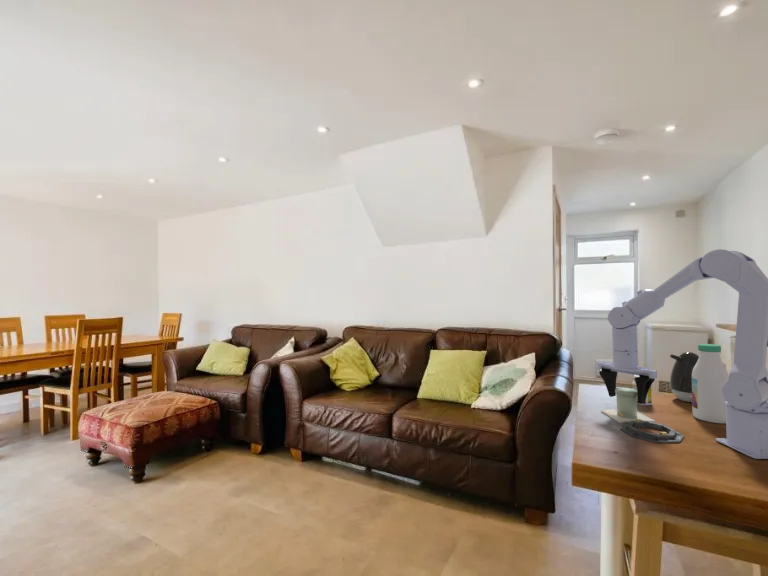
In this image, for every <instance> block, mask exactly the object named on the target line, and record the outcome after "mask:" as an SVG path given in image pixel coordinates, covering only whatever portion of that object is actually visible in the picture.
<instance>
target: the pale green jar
mask: <svg viewBox="0 0 768 576" xmlns="http://www.w3.org/2000/svg"><path fill="white" fill-rule="evenodd" d="M615 393H616V410H617V415H618V416H620V417H624V418H637V412H638V404H637V396H638V394H637V390H635V389H632V388H629V387H616V388H615Z"/></svg>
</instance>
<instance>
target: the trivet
mask: <svg viewBox="0 0 768 576" xmlns="http://www.w3.org/2000/svg"><path fill="white" fill-rule="evenodd" d="M600 412H601V413H602V414H603V415H606V416H607V417H609V418H610V419H612V420H614V421H616V422H618V423H619V424H624V423H625V422H630V421H636V419H641V420H643V421H649V422H654V423H656V420H655V419H652V418H650V417H648V416H647V415H645V414H643V413H641V412H639V411H637V418H624V417H620V416H618V415H617V409H601V410H600Z"/></svg>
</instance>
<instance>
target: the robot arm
mask: <svg viewBox="0 0 768 576" xmlns="http://www.w3.org/2000/svg"><path fill="white" fill-rule="evenodd" d="M709 279H716V280H719V281H722V282H724V283H725V284H727V285H728V286H730V287H731V288H732V289H734V290H735V291H736V292H738V301H737V302H738V303H737V304H738V305H737V313H736V314H737V315H736V325H735V327H736V329H735V341H734V351H733V354H734V355H733V363H732V365H731V367H730V370H729V372H728V375H729V379H728V381H727V382H726V384H725V385H724V386H723V388H722V394H723V397H724V399H725V400H726V423H725V424H726V425H725V428H726V429H725V431H726V438H725V437H721V438H718V437H716V438H715V441H716V442H718V443H720V444H723V445H724V446H727V447H729V448H731V449H733V450H736V451H738V452H740V453H741V454H744V455H745V456H748V457H750V458H752V459H755V460H756V459H757V460H761V459H765V460H767V459H768V368H767V366H766V365H767V364H766V363H767V351H768V276H767V275H766V274H765V273H764V271H762V269H761V268H760V267H759V265H758V264H757V263H756V260H755V259H753V258H752V257H750V256H748V255H747V254H745V253H743V252H742V251H741V252H740V251H738V250H727V249H714V250H711V251H708V252H707V253H706V254H704V255H703V256H701V257H698V258H696V259H694V260H693V261H692V262H689V264H688V265H686V266H684V268H682V269H680V271H678V272H677V273H675V274H673V276H671V277H669V278H668V279H667V280H666V281H664V282H663V283H662V284H660V285H659V286H657V287H656V288H655V289H652V288H645V289H639V290H638V291H637V292H636V295H635V296H633V297H632V298H631V299H629V300H628V301H626V300H624V301H623V302H622V303H621V305H622V306H615V307H612V309H611V310H610V311H609V312H608V315H607V320H608V323H609V324H610V325H611V327H612V328H611V329H612V331H611V333H612V355H613V356H612V362H606V361H599V362H597V369H598V370H601V371H599V375H600V377H601V379H602V380H603V382H604V385H605V387H606V390H607V392H608V397H610V398H612V397H617V395H616V393H615V388H617V377H618V374H619V373H623V374H628V375H633V376H634V375H638V376H639V377H635V382H636V386H637V394H638V403H639V404H643V403H645V401H646V396H647V393H648V391H649V388H650V386H651V387H652V385H653V383H654V382H655V379H657V378H658V370H656V369H652V368H651V369H650V368H647V367H642V366H639V355H638V354H639V353H638V333H637V332H638V330H637V326H638V325H639V324H640V323H641V321H642V320H644V319H645V318H646V317H648V316H650V315H651V314H654V313H655V312H656V311H658V310H659V309H661V308H662V307H664V306H665V302H666V299H667V298H669V297H671V296H673V295H674V294H675V293H677V292H679V291H681V290H682V289H685V288H686V287H688V286H690V285H691V284H693V283H695V282H697V281H702V280H709ZM639 404H638V405H639Z"/></svg>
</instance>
